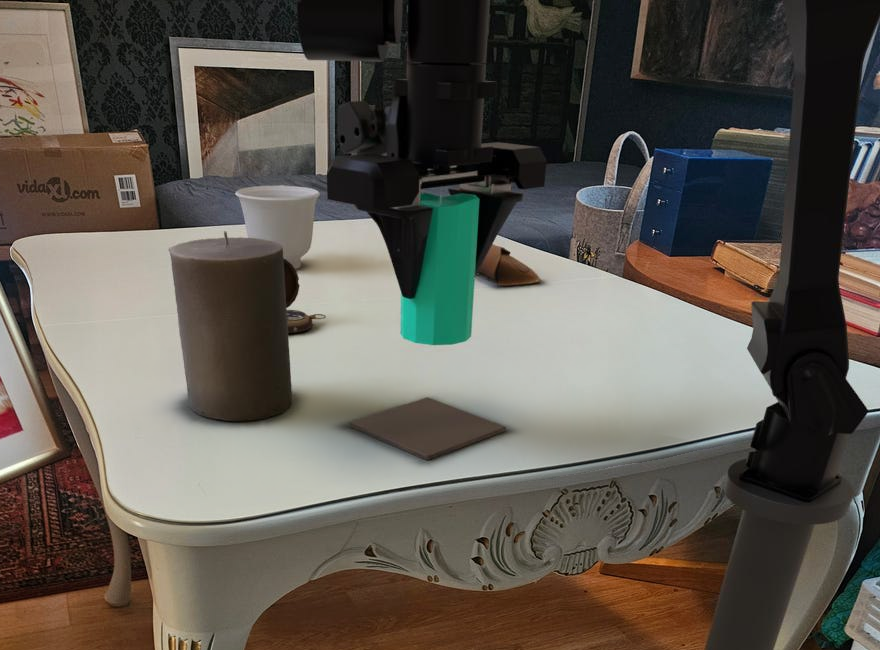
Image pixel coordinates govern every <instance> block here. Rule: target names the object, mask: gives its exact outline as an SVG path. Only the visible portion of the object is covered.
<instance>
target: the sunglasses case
mask: <svg viewBox="0 0 880 650" xmlns="http://www.w3.org/2000/svg"><path fill="white" fill-rule="evenodd" d="M478 273H481V274H482V275H485V276H486V277H488V278H490V279H491V280H494V281H495V283H496V284H497V286H499V287H521V286H528V285H533V284H537V283H540V282H542V279H541V278H540V276H539V275H538V274H537V273H536V271H534V270H533V269H532V268H530V267H529V266H528V265H526V264H524V263H523V262H522V261H520V260H519V259H517V258H515V257H513V256H511V251H510V250H508V249H506V248H505V247H503V246H500V245H496V244H494V243H493V244H492V246H491V248H490V250H489V251H488V253H487V255H486V257H485V259H484V261H483V263H482V265H481V267H480V269H479V271H478Z"/></svg>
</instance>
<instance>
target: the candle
mask: <svg viewBox="0 0 880 650" xmlns="http://www.w3.org/2000/svg"><path fill="white" fill-rule="evenodd" d="M420 205H421V206H426V207H431V208H433V213H432V218H431V223H430V228H429V234H428V238H427V244H426V249H425V254H424V260H423V265H422V270H421V275H420V280H419V284H418V288H417V291H416V295H415V298H413V299H408V298H404V297H403V296H402V293H401V292H400V333H399V334H400V335H401V337H402V339H403V340H406V341H409V342H411V343H414V344H420V345H428V346H453V345H457V344H461V343H465V342H467V341H468V340H470V338H471V337H472V331H473V330H472V329H473V315H474V314H473V312H474V296H475V295H474V294H475V281H476V280H475V279H476V277H475V265H476V249H477V232H478V216H479V198H478V197H477V196H476V195H472V194H462V193H461V194H456V195H450V194H449V195H445V196H443V186H442V187H439V195H436V194H433V193H429V192H421V194H420Z"/></svg>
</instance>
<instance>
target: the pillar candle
mask: <svg viewBox="0 0 880 650" xmlns="http://www.w3.org/2000/svg"><path fill="white" fill-rule="evenodd" d="M167 250H168V252H169V256H170V261H171V271H172V279H173V286H174V296H175V303H176V313H177V321H178V323H177V324H178V329H179V330H178V332H179V338H180V346H181V352H182V360H183V369H184V375H185V383H186V394H187V398H188V399H187V400H188V405H189V408H190V409H191V411H193V412H194V413H196V415H199V416H201V417H205V418H209V419H216V420H222V421H226V422H228V421H229V422H246V421H249V422H251V421H255V420H261V419H266V418H269V417H272V416H275V415H279V414H283V413H285V412H286V411H287V410H288V409H289V408H290V407H291V406H292V403H293V391H292V386H293V385H292V374H291V358H290V357H291V355H290V346H289V345H290V341H289V340H290V339H289V333H288V325H287V310H288V309H287V308H286V292H285V276H284V261H283V248H282V246H281V245H280V244H278V243H276V242H274V241H269V240H264V239H257V238H248V237H241V236H240V237H228V232H227V231H226V230H224V231H223V237H217V238H216V237H214V238H213V237H212V238H202V239H193V240H189V241H185V242H181V243H178V244H175V245H173V246H170V247H168V248H167Z"/></svg>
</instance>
